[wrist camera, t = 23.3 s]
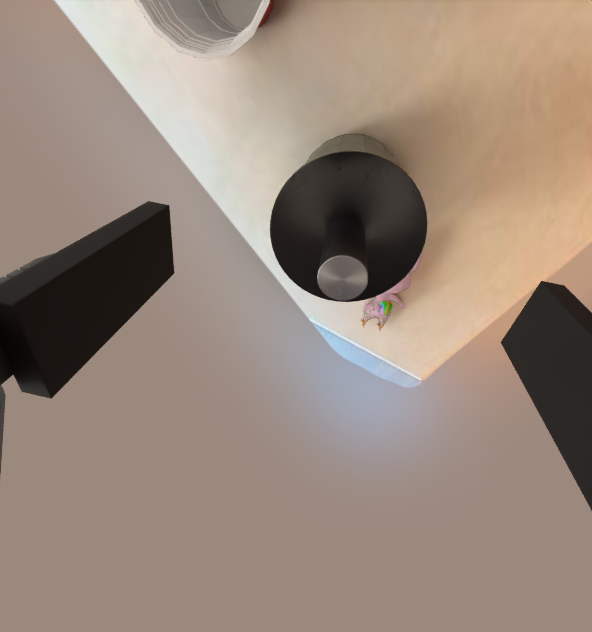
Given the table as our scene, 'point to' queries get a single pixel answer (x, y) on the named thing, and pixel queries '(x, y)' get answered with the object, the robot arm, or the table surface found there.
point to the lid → (348, 226)
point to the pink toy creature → (387, 300)
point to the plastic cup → (205, 24)
